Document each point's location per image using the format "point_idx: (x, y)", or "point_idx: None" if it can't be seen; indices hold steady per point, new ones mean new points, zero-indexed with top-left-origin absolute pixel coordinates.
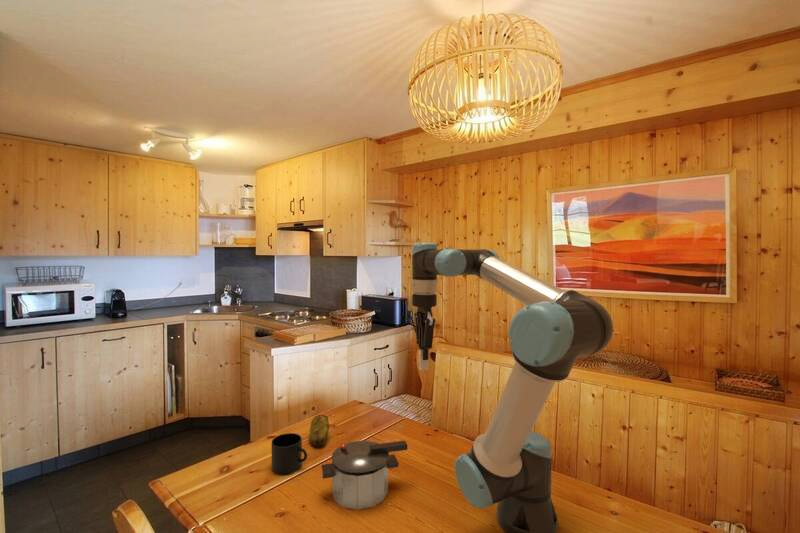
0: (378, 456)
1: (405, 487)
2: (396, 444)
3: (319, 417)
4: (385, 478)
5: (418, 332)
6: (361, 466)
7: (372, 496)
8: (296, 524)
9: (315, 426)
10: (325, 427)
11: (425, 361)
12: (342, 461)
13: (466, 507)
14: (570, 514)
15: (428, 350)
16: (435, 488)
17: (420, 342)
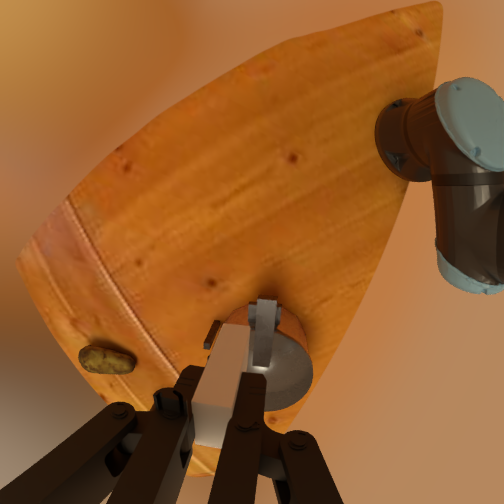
0: (281, 353)
1: (279, 275)
2: (268, 321)
3: (89, 367)
4: (291, 326)
5: (97, 496)
6: (302, 384)
7: (306, 342)
8: (296, 409)
9: (106, 372)
10: (108, 360)
11: (243, 370)
12: (273, 402)
13: (361, 204)
14: (414, 77)
15: (234, 401)
16: (300, 228)
17: (186, 470)
